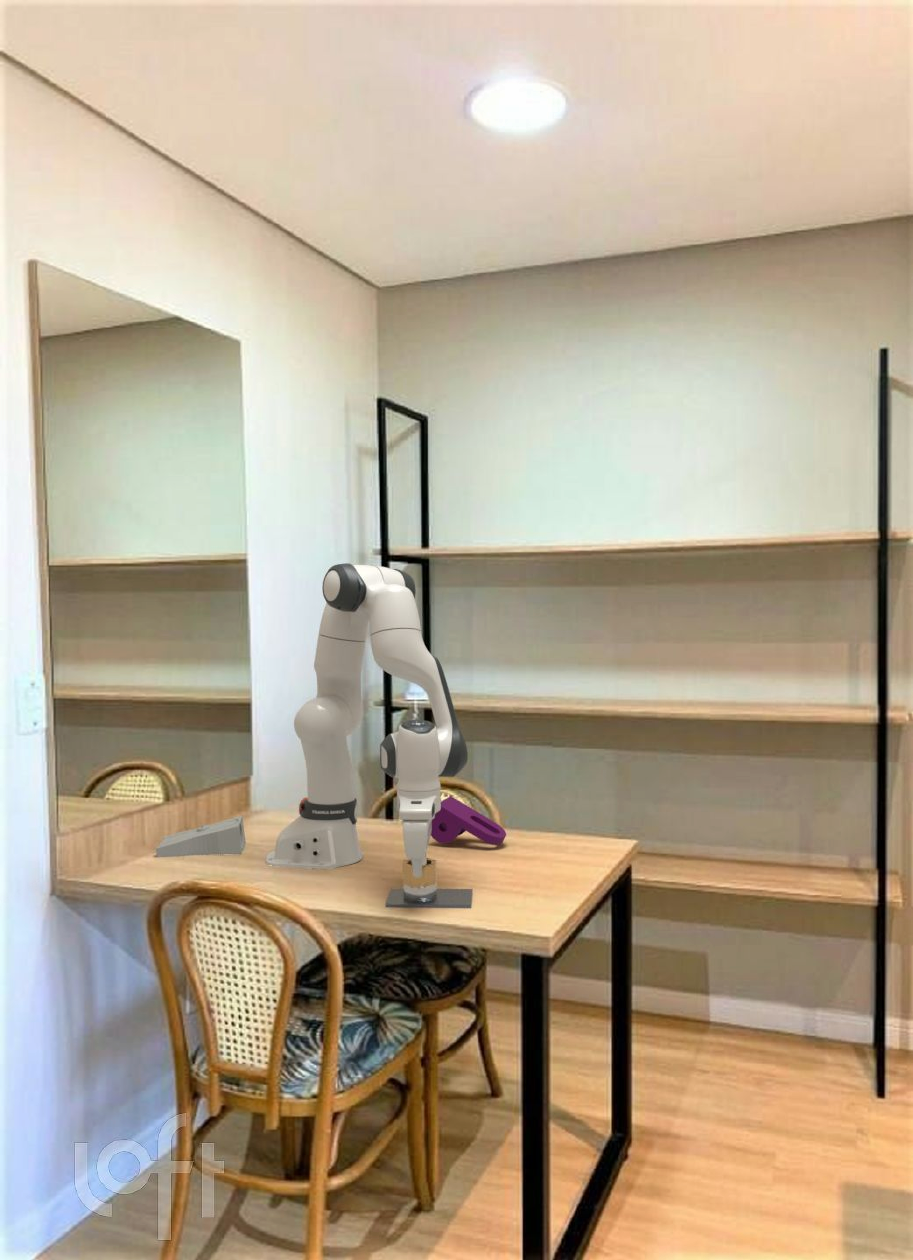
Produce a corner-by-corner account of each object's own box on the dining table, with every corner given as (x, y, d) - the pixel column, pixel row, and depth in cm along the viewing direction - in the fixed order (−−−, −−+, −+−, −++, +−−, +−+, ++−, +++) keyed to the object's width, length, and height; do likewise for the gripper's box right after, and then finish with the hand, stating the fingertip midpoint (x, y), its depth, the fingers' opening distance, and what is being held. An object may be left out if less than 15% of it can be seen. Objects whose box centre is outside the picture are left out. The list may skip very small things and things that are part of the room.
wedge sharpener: (241, 854, 235) (241, 825, 235) (156, 858, 233) (155, 829, 233) (245, 842, 246) (244, 815, 246) (163, 846, 244) (163, 818, 243)
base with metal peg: (385, 909, 194) (384, 864, 193) (391, 893, 204) (390, 850, 203) (471, 909, 193) (470, 864, 192) (472, 893, 203) (472, 850, 202)
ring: (401, 886, 195) (401, 866, 195) (405, 876, 202) (404, 857, 201) (434, 886, 195) (434, 867, 194) (437, 876, 201) (436, 857, 201)
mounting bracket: (497, 860, 247) (437, 823, 252) (511, 831, 245) (450, 795, 250) (484, 870, 238) (423, 832, 243) (499, 841, 236) (436, 803, 242)
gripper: (408, 790, 208) (409, 854, 208) (398, 813, 187) (399, 884, 188) (437, 790, 207) (438, 854, 208) (430, 813, 187) (431, 884, 188)
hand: (419, 869), depth 198 cm, fingers open, 8 cm apart
